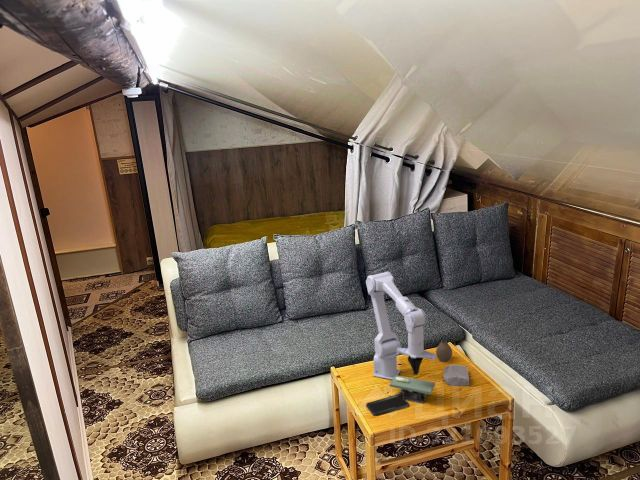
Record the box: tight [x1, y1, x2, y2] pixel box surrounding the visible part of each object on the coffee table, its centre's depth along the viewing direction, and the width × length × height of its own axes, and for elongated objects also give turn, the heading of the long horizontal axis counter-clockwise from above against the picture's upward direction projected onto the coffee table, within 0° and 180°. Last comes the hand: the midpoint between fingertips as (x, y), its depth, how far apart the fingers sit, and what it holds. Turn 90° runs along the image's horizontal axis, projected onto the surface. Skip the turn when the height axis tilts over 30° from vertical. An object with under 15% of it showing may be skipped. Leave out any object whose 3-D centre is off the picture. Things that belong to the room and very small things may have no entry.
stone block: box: [442, 364, 470, 387], centre depth 189 cm, size 12×5×10 cm
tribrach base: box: [397, 389, 428, 404], centre depth 178 cm, size 10×7×3 cm
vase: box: [435, 340, 453, 363], centre depth 203 cm, size 7×7×9 cm
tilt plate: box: [389, 375, 436, 395], centre depth 178 cm, size 16×7×3 cm, turn 62°
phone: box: [365, 393, 410, 417], centre depth 174 cm, size 8×1×15 cm
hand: (416, 373), depth 176 cm, fingers closed
